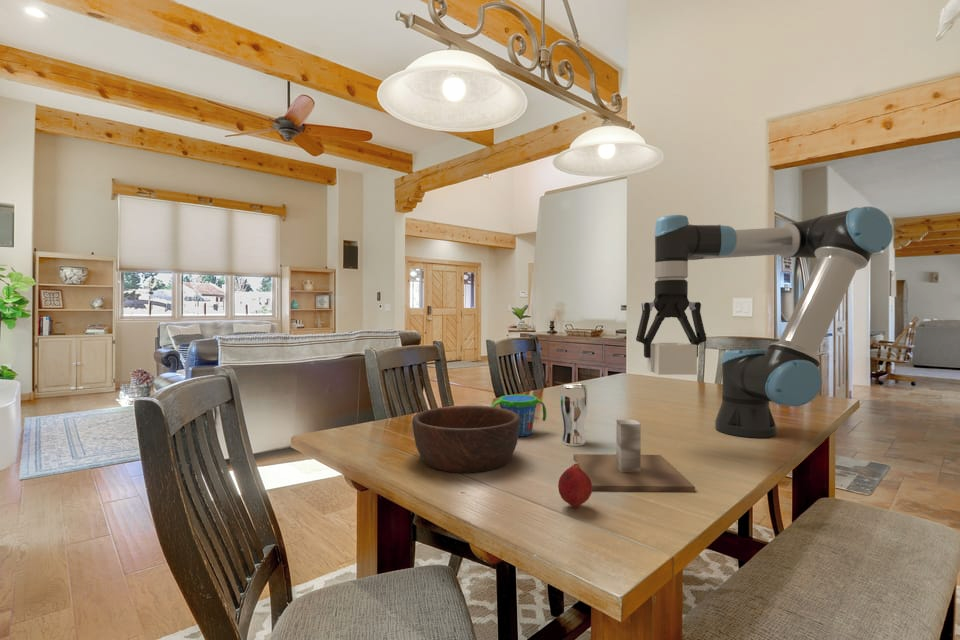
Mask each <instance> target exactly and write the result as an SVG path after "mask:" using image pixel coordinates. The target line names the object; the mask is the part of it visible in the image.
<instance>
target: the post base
mask: <svg viewBox="0 0 960 640" xmlns="http://www.w3.org/2000/svg"><path fill="white" fill-rule="evenodd" d="M641 429H642V428H641V423H640V422H639V421H637V420H636V419H616V432H615V433H616V435H615V437H616V443H615V444H616V448H615V449H616V450H615V451H616V454H614V453H613V454H612V453H611V454H605V453H604V454H600V453H599V454H597V453H596V454H595V453H593V454H592V453H589V454H588V453H587V454H586V453H581V454H580V453H574V454H573V460H574V463H575V462H576V463H577V462H578V463H579V464H580V466H579V468H580V469H582V470H583V471H584V472H585V473H586V474H587V475H588V477H589V478H590V480H591V483H592V492H594V491H595V492H596V491H597V492H598V491H599V492H678V493H679V492H680V493H681V492H685V493H686V492H688V493H690V492H692V493H693V492H696V487H695V485H694V484H693V483H692V482H691V481H690V480H688V478H686V477H685V476H684V475H683V474H682V473H681V472H680V471H679V470H678V469H677V468H675V467H674V465H673V464H671V463H670V462H669V461H668V460H667V459H666V458H665V457H664V456H663V455H661V454H641V453H642V452H641V447H642V446H641V444H642V443H641V436H642V435H641V433H642V432H641Z"/></svg>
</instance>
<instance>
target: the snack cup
mask: <svg viewBox="0 0 960 640" xmlns="http://www.w3.org/2000/svg"><path fill="white" fill-rule="evenodd" d="M538 403H540V404H541V405H542V422H545V421H546V419H547V407H546V405H545V404H544V402H543V401H542V400H541V399H539V398H538V397H537V396H536V395H531V394H507V395H506V394H505V395H502V396H500V397H499V399H497V400H495V401H494V402H493V404H492V406H491V407H496V406H497V405H498V404H499V406H500V407H499V408H502V409H507V410H510V411H513V412H515V413H516V414H518V415H519V417H520V427H519V434H518V437H525V436H527V437H528V436H530V435H531V434H532V433H533V429H534V422H535V412H536V408H537V404H538Z"/></svg>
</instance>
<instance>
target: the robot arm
mask: <svg viewBox="0 0 960 640" xmlns="http://www.w3.org/2000/svg"><path fill="white" fill-rule="evenodd" d="M654 229H655V230H654V235H653V236H654V252H655V253H654V258H655V259H654V278H655V279H657V280H656V281H655V282H654V299H653V300H652V301H651V302H642V303H641V310H642V311H641V317H640V320H639V324H638V328H637V329H638V330H637V333H636V337H635V341H636V342H637V343H642V345H643V357H644V358H646V359H647V358H648V370H647V371H648V372H650V373H653V372H654V345H651V343H652V342H653V340H654V338H655V337H656V334H657V333H658V330H660V327H661V325H662V323H663V321H664V320H665V319H666V318H668V319H670V318H677V321H678V322H679V323H680V325H681V327H682V329H683V331H684V333H685V335H686V337H687V339H688V341H689V344H694V345H697V358H698V357H699V346H700V345H701V344H702V343H706V342H707V336H706V332H705V326H704V324H703V317H702V314H701V308H702V304H701V302H699V301H690V300H689V298H688V293H689V292H688V283H689V281H687V280H686V279H687V278H688V276H689V267H688V266H689V265H688V263H689V262H688V261H696V260H711V259H712V260H713V259H724V258H725V259H729V258H730V259H731V258H745V257H759V256H780V257H781V258H785V259H786V258H787V259H788V258H803V259H804V258H805V259H807V258H809V259H816V260H817V262H816V264H815V265H814V268H813V270H812V272H811V274H810V276H809V279H808V280H807V282H806V284H805V286H804V289H803V290H802V293H801V295H800V297H799V298H798V301H797V303H796V305H795V307H794V309H793V311H792V313H791V316H790V318H789V319H788V321H787V323H786V325H785V328H784V330H783V332H782V334H781V336H780V338H779V340H777V341H775V342H772V343H770V344H769V345H768V347H767V349H761V348H760V349H736V350H734V349H733V350H727V351H725V352H724V353H723V355H722V361H721V366H722V369H721V370H722V371H721V375H722V376H721V377H722V379H721V383H722V384H721V385H722V386H721V390H722V391H721V397H722V398H721V399H722V400H721V405H720V407H719V410H718V412H717V415H716V418H715V423H714V428H715V430H717V431H718V432H720V433H724V434H727V435H731V436H737V437H743V438H755V439H756V438H761V439H762V438H772V437H775V436H776V435H777V425H776V423H775V419H774V417H773V414H772V411H771V408H770V402H772V403H775V404H776V405H780V406H788V407H800V406H803V405H807V404H809V403H811V402H812V401H813V400H815V398H816V397H817V396H818V395H819V393H820V391H821V389H822V385H823V379H822V378H821V377H822V372H821V370H820V368H819V367H820V365H821V361H820V359H819V357H818V356H817V354H818V352H819V349H820V348H821V346H822V343H823V341H824V339H825V337H826V334H827V333H828V331H829V328H830V326H831V324H832V322H833V321H834V318H835V316H836V314H837V312H838V310H839V308H840V306H841V303H842V301H843V299H844V297H845V294H846V293H847V291H848V290H849V287H850V285H851V283H852V281H853V278H854V276H855V274H856V272H857V271H859V270H862V269H864V268H866V267H867V266H868V264H869V262H870V260H871V258H872V255H873V254H878V253H880V252H882V251H885V250H886V249H887V248H888V247H889V246H890V245H891V242H892V240H893V234H894V231H893V230H894V229H893V225H892V224H891V220H890V219H889V216H887V214H886V213H885V212H884V211H883V210H881V209H879V208H877V207H874V206H862V207H853V208H851V209H849V210H844V211H840V212H834V213H829V214H825V215H820V216H816V217H813V218H809V219H806V220H803V221H802V220H801V221H798V222H789V223H788V222H787V223H784V224H782V225H781V226H779V227H768V228H767V227H766V228H747V229H734V227H732V226H730V225H721V224H715V225H714V224H709V225H708V224H705V225H704V224H700V225H699V224H697V225H696V224H695V225H694V224H690V223H689V218H688V216H687V215H683V214H670V215H669V214H668V215H664V216H660V217H659V218H657V219H656V221H655V228H654ZM653 308H654V309H655V310H656V314H655V317H654V319H653V322H652V324H651V326H650V327H649V328H648V326H649V325H648V324H649V320H650V316H651V311H652V310H653ZM687 308H689V310H690V311H691V317H692V322H693V326H694V329H695V330H694V329H693V326H692V325H691V323H690V321H689V319H688V315H687V313H686V310H687ZM647 329H648V330H647ZM646 332H647V333H646Z"/></svg>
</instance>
